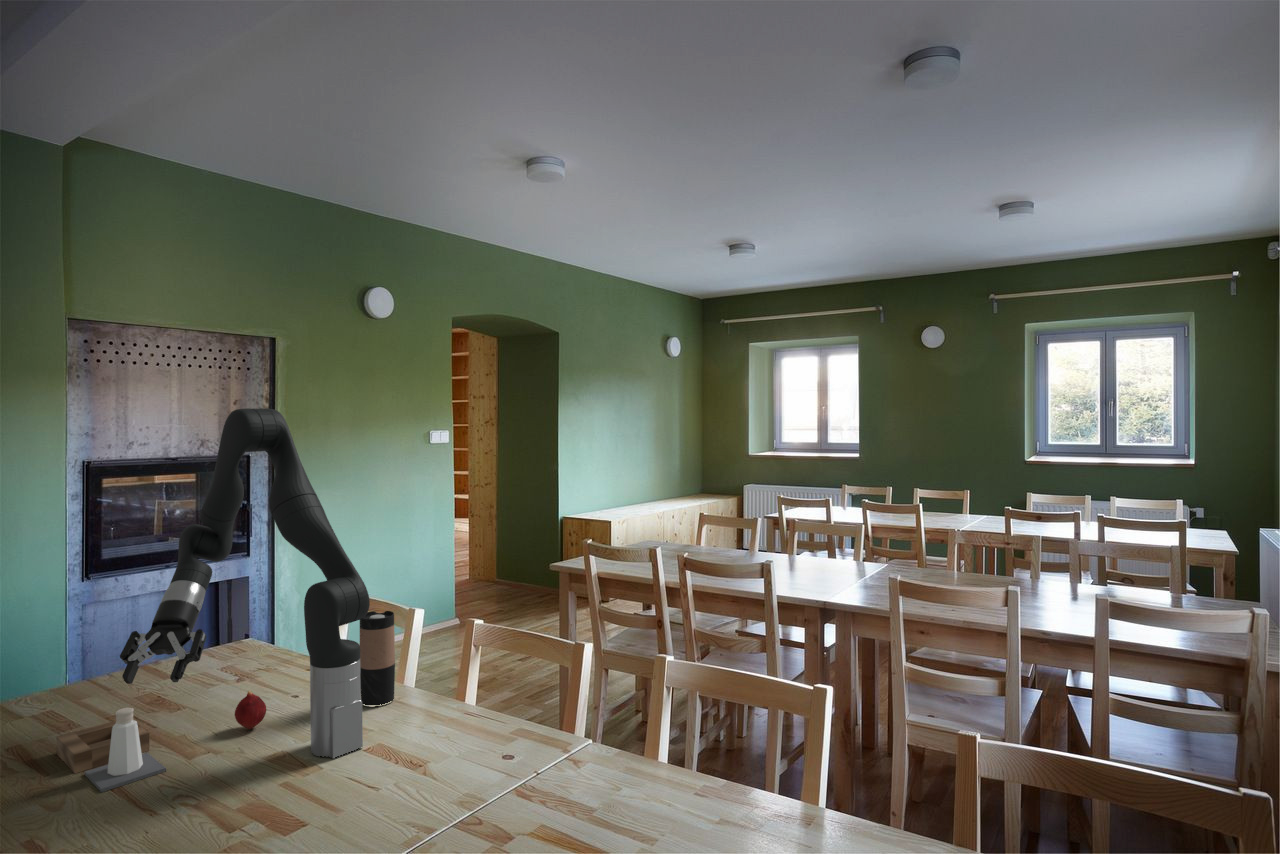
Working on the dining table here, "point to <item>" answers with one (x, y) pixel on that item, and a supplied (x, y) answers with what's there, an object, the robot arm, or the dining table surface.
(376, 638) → the travel mug
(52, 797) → the dining table surface
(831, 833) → the dining table surface
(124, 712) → the pepper shaker
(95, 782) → the rubber pad
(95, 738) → the socket block
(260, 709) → the onion
